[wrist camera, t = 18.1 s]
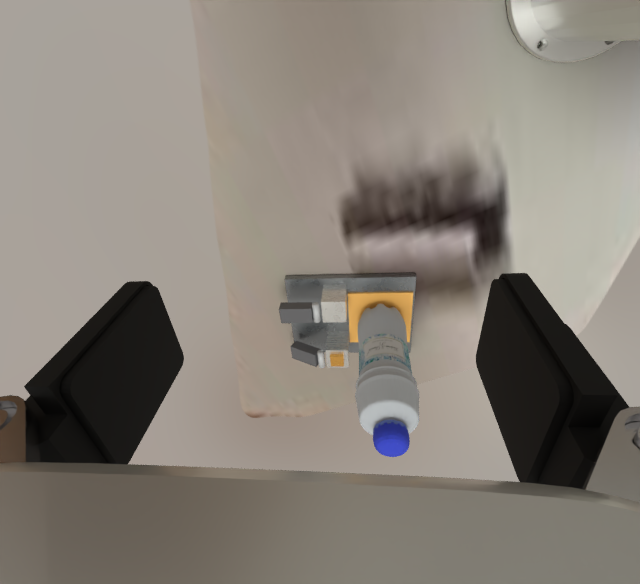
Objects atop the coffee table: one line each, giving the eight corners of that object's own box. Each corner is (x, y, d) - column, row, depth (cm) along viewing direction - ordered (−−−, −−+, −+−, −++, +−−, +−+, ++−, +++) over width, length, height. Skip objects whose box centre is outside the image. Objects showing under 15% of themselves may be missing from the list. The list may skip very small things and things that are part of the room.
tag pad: (413, 291, 48) (413, 292, 47) (409, 340, 52) (409, 342, 52) (347, 292, 49) (347, 293, 48) (349, 340, 53) (349, 342, 53)
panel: (415, 272, 47) (421, 296, 43) (409, 347, 54) (414, 375, 50) (285, 275, 49) (278, 299, 45) (296, 347, 56) (291, 374, 52)
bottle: (406, 296, 48) (431, 429, 31) (405, 336, 52) (427, 473, 35) (354, 298, 49) (352, 428, 32) (357, 337, 52) (356, 471, 36)
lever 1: (319, 300, 46) (318, 307, 45) (321, 317, 47) (320, 324, 46) (280, 301, 46) (278, 307, 45) (283, 317, 48) (281, 324, 47)
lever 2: (325, 349, 50) (320, 356, 49) (327, 363, 51) (322, 370, 50) (295, 339, 52) (290, 345, 51) (297, 352, 54) (292, 359, 53)
